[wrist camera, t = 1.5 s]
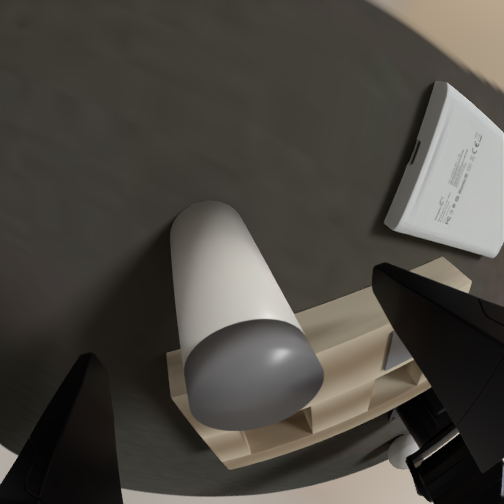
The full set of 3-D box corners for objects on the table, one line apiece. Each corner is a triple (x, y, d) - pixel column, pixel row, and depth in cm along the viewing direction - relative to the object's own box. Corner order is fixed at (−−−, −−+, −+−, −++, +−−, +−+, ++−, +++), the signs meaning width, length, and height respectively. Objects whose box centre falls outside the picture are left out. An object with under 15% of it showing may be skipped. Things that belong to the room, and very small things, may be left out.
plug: (251, 256, 14) (324, 405, 8) (182, 276, 14) (211, 441, 7) (236, 191, 13) (323, 331, 6) (159, 213, 12) (167, 379, 6)
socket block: (414, 364, 25) (432, 388, 22) (221, 439, 23) (230, 472, 20) (442, 256, 18) (473, 283, 16) (166, 352, 16) (171, 400, 14)
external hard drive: (481, 249, 20) (377, 219, 16) (519, 157, 17) (429, 78, 12) (494, 260, 19) (395, 234, 15) (534, 165, 16) (452, 82, 11)
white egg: (374, 451, 37) (389, 480, 33) (399, 430, 35) (417, 460, 31) (403, 442, 41) (418, 468, 36) (426, 422, 39) (443, 448, 34)
